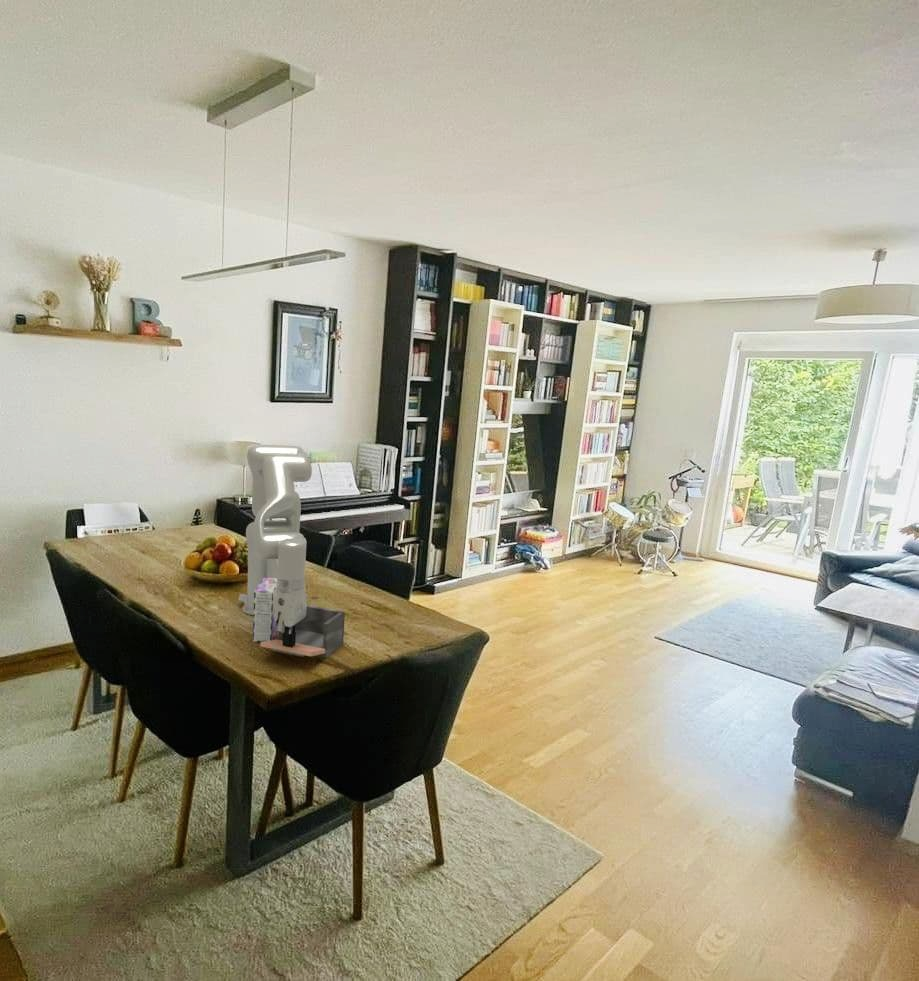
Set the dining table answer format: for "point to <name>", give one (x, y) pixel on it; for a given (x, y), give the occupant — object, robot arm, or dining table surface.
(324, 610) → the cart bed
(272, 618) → the candy box
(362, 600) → the dining table surface
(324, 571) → the dining table surface
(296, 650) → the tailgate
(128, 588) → the dining table surface
